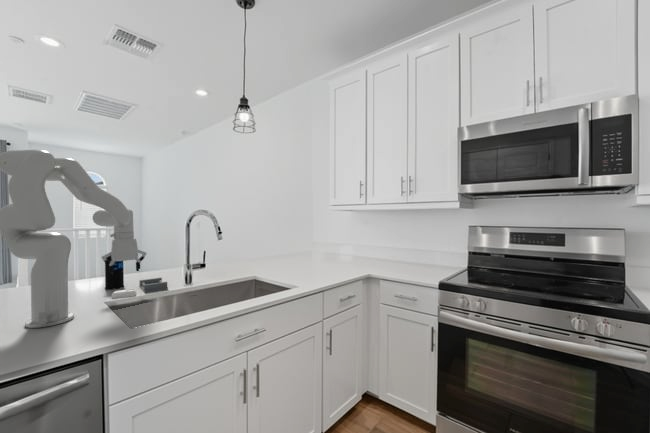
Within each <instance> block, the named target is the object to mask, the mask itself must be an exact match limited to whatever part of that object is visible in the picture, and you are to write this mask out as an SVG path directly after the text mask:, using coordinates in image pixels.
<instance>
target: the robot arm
mask: <svg viewBox="0 0 650 433" xmlns="http://www.w3.org/2000/svg"><path fill="white" fill-rule="evenodd" d="M0 171H1V172H2V173H4V174H6V175H8V176H11V177H10V178H9V181H8V186H7V187H8V188H7V189H8V194H9V197H10V199H11V203H8V204H6V205H5V206H3V207H0V233H1V236H2V238H3V239H4V242H5V244H6V246H7V248H8V250H9V251H10V252H11V254H12V255H13V256H14V257H16V258H19V259H23V260H35V262H34V264H33V265H32V268H31V271H30V300H31V301H30V302H31V303H30V306H31V314H30V315H31V318H30V319H28V320H27V321H26V322H25V323H24V326H25V327H26V328H27V329H28V328H29V329H37V328H46V327H51V326H56V325H57V326H58V325H60V324H64V323H66V322H69V321H71V320H72V319H73V318H74V317H75V314H74V313H73V312H70V311H69V282H68V281H69V275H68V274H69V273H68V271H69V267H68V266H69V258H70V254H71V249H72V248H71V247H72V242H71V240H70V238H69V237H67V235H65V234H63V233H59V232H51V231H49V232H48V231H47V230H50V229H52V227H54V225H55V224H56V217H55V214H54V211H53V208H52V206H51V203H50V201H49V198H48V196H47V192H46V189H45V184H46V181H49V182H50V181H51V182H53V181H57V182H58V181H59V182H61V183H62V184H63V185H64V187H65V188H67V190H68V191H69V192H70V193H71V194H72V195H73V196H74V197H75V199H76V200H78V201H80V202H83V203H86V204H89V205H92V206H95V207H98V208H100V209H99V210H97V211H95V212H94V213H93V214H92V220H93V221H92V222H93V223H94V224H95V225H96V226H98V227H99V226H100V227H113V233H110V234H109V235H110V238H113V239H112V242H111V247H110V248H111V249H110V250H111V251H110V252H108V253H106V254H104V255H102V256H101V259H102V261H103V262H104V264H105V263H106V264H108V265H109V267H110V273H112V275H113V274H114V266H113V264H114V263H115V261H123V262H125V261H133V260H134V261H136V262H135V270H136V271H137V272H140V269H141V262H142V261H143V260H144V259H145V257H146V256H147V252H146V251H143V250H139V247H138V242H137V241H138V240H137V238H135V233H134V232H135V231H134V211H133V210H131V209H129V208H127V207H126V205H125V204H124V203H123V202H122V201H121V200H120V199H119V198H118V197H116V196H114V195H112V194H111V193H110V192H108V191H106V190H104V189H102V188H101V187H99V186H98V185H97V183H96V181H94V180H93V179H92V177H91V176H90V175H89V173H88V172H87V171H86V169H84V167H83V166H82V165H81V164H80V162H78V161H77V160H75V159H72V158H68V157H54V155H53V154H52V153H51V152H49V151H47V150H43V149H20V150H19V149H18V150H17V149H16V150H7V151H3V152H1V153H0ZM40 231H41V232H40ZM44 231H45V232H44ZM46 231H47V232H46ZM139 254H141V256H140V257H139ZM109 256H111V258H112V260H111V261H110V262H109V261H108V260H107V259H106V258H107V257H109Z"/></svg>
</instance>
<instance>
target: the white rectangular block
mask: <svg viewBox="0 0 650 433" xmlns="http://www.w3.org/2000/svg"><path fill="white" fill-rule="evenodd" d="M136 295H137V290H136V289H135V288H130V289H122V290H114V292H112V294H111V299H118V298H120V299H121V298H126V297H127V298H128V297H134V296H136Z"/></svg>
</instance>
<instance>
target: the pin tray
mask: <svg viewBox="0 0 650 433" xmlns="http://www.w3.org/2000/svg"><path fill="white" fill-rule="evenodd" d="M138 286H139V288H140V289H141V290H142V291H143V293H144V294H146V293H152V292H159V291H160V292H161V291H166V290H169V287H168V281H163V277H156V278H147V279H140V280H139V285H138Z"/></svg>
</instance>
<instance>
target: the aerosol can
mask: <svg viewBox="0 0 650 433" xmlns="http://www.w3.org/2000/svg"><path fill="white" fill-rule="evenodd" d="M106 259H107V260H108V261H109V262H110V261H111V260H112V258H111V256H109V257H107V258H106ZM113 266H114V274H113V275H112V273H110V267H109V265H108V264H106V263H105V262H104V274H105V276H104V277H105V278H104V283H105V284H104V285H105V287H104V290H108V291H110V290H119V289H122V288H124V287H125V285H124V284H125V283H124V282H125V281H124V278H125V277H124V273H125V272H124V267H125V266H124V261H115V263H114V264H113Z"/></svg>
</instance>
